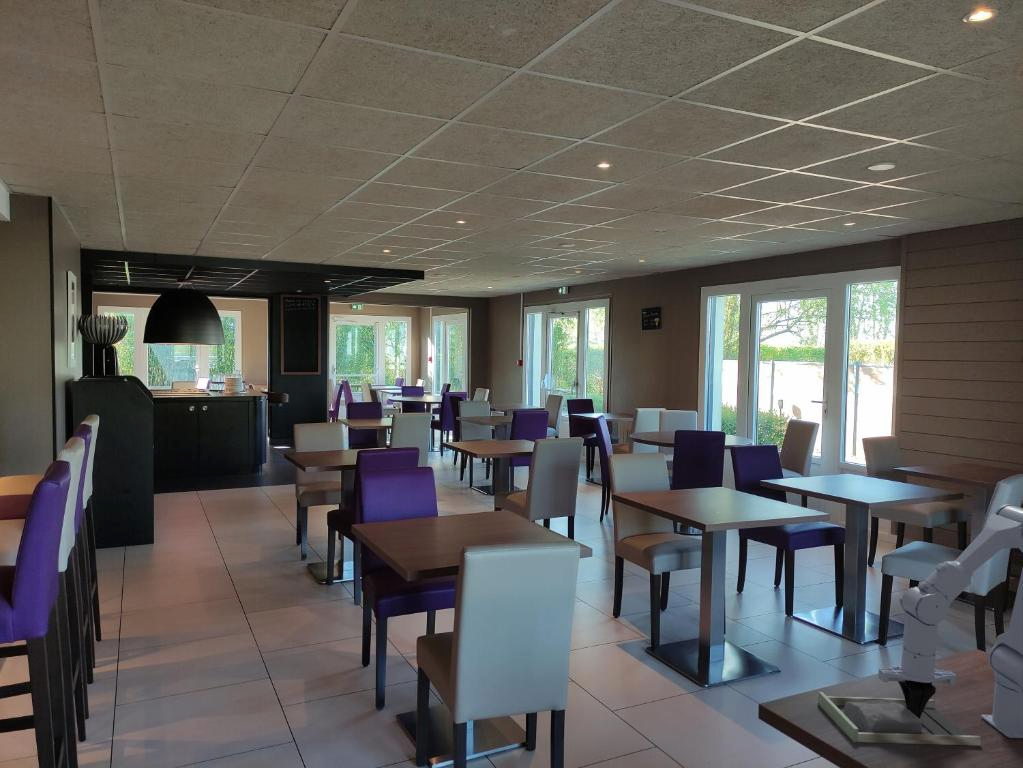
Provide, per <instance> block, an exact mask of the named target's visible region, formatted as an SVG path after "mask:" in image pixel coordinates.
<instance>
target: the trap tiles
mask: <svg viewBox="0 0 1023 768" xmlns="http://www.w3.org/2000/svg"><path fill="white" fill-rule="evenodd" d="M906 708H907V707H906ZM920 720H921V723H922V727H924V728H925V729H926V730H928V731H929V732H930V733H931V735H965V736H969V735H968V733H966V732H965V731H963V729H961V728H960V727H958V726H957V725H956V724H955V723H954V722H952V721H951V720H950V719H948V717H946V716H945V715H944V714H942V713H941V712H940V711H938V710H937V708H935V707H934V708H924V710H923V712H922V714H921V717H920Z"/></svg>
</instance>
